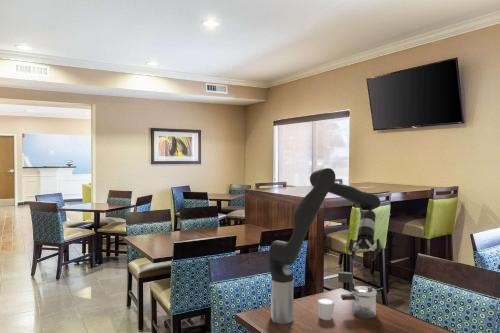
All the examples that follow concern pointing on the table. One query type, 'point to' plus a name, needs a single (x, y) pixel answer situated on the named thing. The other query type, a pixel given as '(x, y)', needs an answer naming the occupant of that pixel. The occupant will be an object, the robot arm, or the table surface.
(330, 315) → the white cylinder
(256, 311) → the table surface
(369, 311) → the pot
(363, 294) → the lid
